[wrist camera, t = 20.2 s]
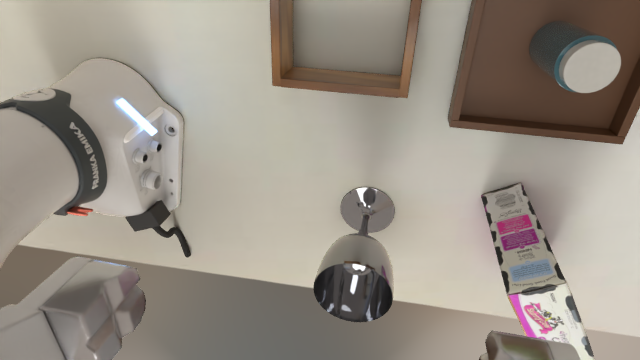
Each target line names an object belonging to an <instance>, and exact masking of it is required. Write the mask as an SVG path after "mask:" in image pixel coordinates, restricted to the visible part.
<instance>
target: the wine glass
mask: <svg viewBox="0 0 640 360" xmlns="http://www.w3.org/2000/svg"><path fill="white" fill-rule="evenodd" d="M341 214H342V217H343V218H344V220H345V221H346V223H347V224H348V225H350V226H351V227H352V228H354V229H356V230H358V231H359V232H358V234H356V233H355V234H349V235H346V236H343V237H341V238H339V239H338V240H336V241H335V242H334V243H333V244H332V245H331V247H330V248H329V249H328V251H327V252H326V254H325V256H324V258H323V259H322V261H321V263H320V266H319V269H318V271H317V275H316V278H315V282H314V293H315V297H316V299H317V301H318V302H319V304H320V305H321V306H322V307H323V308H324V309H325V310H326V311H327V312H329V313H330V314H332V315H333V316H336V317H338V318H340V319H343V320H346V321H352V322H367V321H372V320H375V319H378V318H379V317H381V316H383V315H384V314H385V313H386V312H387V311H388V310H389V308H390V307H391V305H392V300H393V291H394V279H393V270H392V265H391V261H390V258H389V255H388V253H387V251H386V249H385V248H384V246H383V245H382V244H381V243H380V242H379V241H377V240H376V239H374V238H373V237H371V236H368V232H371V233H372V232H377V231H381V230H383V229H385V228H386V227H387V226H388V225H389V224H390V223H391V222H392V220H393V218H394V214H395V209H394V205H393V203H392V201H391V199H390V198H389V197H388V196H387V195H386V194H385V193H383V192H382V191H380V190H378V189H375V188H370V187H361V188H357V189H354V190H352V191H350V192H349V193H348V194H346V195H345V197H344V198H343V200H342V202H341Z"/></svg>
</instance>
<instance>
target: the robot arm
mask: <svg viewBox="0 0 640 360" xmlns="http://www.w3.org/2000/svg"><path fill="white" fill-rule="evenodd" d="M171 127H173V128H174V130H175V131H174V130H173V129H172V128H171ZM183 128H184V121H183V117H182V116H181V114H180V113H179V112H178V111H176V110H175V109H174V108H172V107H171V106H170V105H168V104H167V103H165V102H164V101H163V100H162V99H161V98H160V97H159V95H158V94H157V93H156V92H155V90H154V89H153V88H152V86H151V85H150V84H149V83H148V82H147V81H146V80H145V79H144V78H143V77H142V76H141V75H140V74H138V73H137V72H136V71H134V70H133V69H131V68H130V67H128V66H126V65H124V64H122V63H120V62H117V61H114V60H110V59H104V58H96V59H90V60H87V61H84V62H82V63H81V64H79V65H78V66H77V67H76V68H75V69H74V70H73V71H72V72H71V73H70V74H68V75H67V76H66V77H64V78H63V79H61V80H60V81H58V82H56V83H55V84H53V85H51V86H49V87H47V88H44V89H37V90H32V91H29V92H25V93H22V94H19V95H16V96H14V97H12V99H9V100H6V101H4V102H1V103H0V268H1V267H2V265H3V263H4V261H5V260H6V258H7V256H8V255H9V253H10V252H11V251H12V250H13V248H14V247H15V246H16V245H17V244H18V243H19V242H20V241H21V240H22V239H23V238H24V237H26V236H27V235H28V234H29V233H30V232H31V231H32V230H33V229H35V228H36V227H37V226H38V225H39V224H41V223H42V222H43V221H44V220H46V219H47V218H48V217H49V216H51V215H52V214H57V215H64V216H66V215H67V214H73V215H80V216H87V215H88V214H87V213H86V212H95V213H99V214H104V215H110V216H127V217H126V219H127V221H128V222H129V224H130V225H131V227H132V228H133V230H134V231H140V230H144V229H148V228H153V229H154V230H155V231H156V232H157V233H158V234H159V235H161V236H163V237H166V238H169V237H171V236H172V235H173V234H176V235H177V237H178V239H179V241H180V243H181V246H182V249H183V252H184V254H185V256H186V257H189V256H191V253H190V251H189V249H188V246H187V243H186V240H185V238H184V236H183V234H182V232H181V231H180V230H179V229H178V228H175V227H173V228H171V229H170V230H169V231H168V232H167V231H165V230H163V229H162V228H161V227H160V225H161V224H162V223H163V222H164V221H165V220H166V218H167V217H168V216H169V215H170V212H169V211H171V210H174V209H175V208H177V207H178V206H179V205H180V201H181V178H182V153H183ZM78 206H80V207H78ZM139 280H140V277H139V274H138V271H137V269H136V268H133V267H129V266H124V265H120V264H114V263H110V262H104V261H100V260H94V259H89V258H84V257H79V256H76V257H74V258H71V259H69V260H68V261H66V262H65V263H64V264H63V265H62V266H61V267H60V268H58V269H57V270H56V271H55V272H54V273H53V274H51V275H50V276H49V277H48V278H47V279H46V280H45V281H43V282H42V283H41V284H40V285H39V286H38V287H37V288H35V289H34V290H33V291H32V292H31V293H30V294H29V295H27V296H26V297H25V298H24V299H23V300H22V301H21V302H19V303H18V304H17V305H12V304H10V305H7V306H5V307H3V308H0V360H112V359H113V358H114V357H115V355H116V354H117V353H118V351H119V350H120V349H121V347H122V337H124V336H126V335H128V334H129V333H131V332H133V331H134V330H135V328H136V327H137V326H138V324H139V323H140V321H141V319H142V316H143V314H144V311H145V304H146V300H145V295H144V292H143V291H142V290H141V289H140V288H139V287H138V286H137V285H136V284H137V283H138V281H139ZM485 343H486V349H487V353H485V354H483V355H481V356H480V358H479V360H581V359H580V357H579V355H578V352H577V350H576V349H575V348H574V346H573V345H572V344H567V343H561V342H556V341H550V340H542V339H540V338H534V337H528V336H522V335H516V334H510V333H503V332H498V331H491V332H490V333H489V334H488V337H487V339H486V342H485Z"/></svg>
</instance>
